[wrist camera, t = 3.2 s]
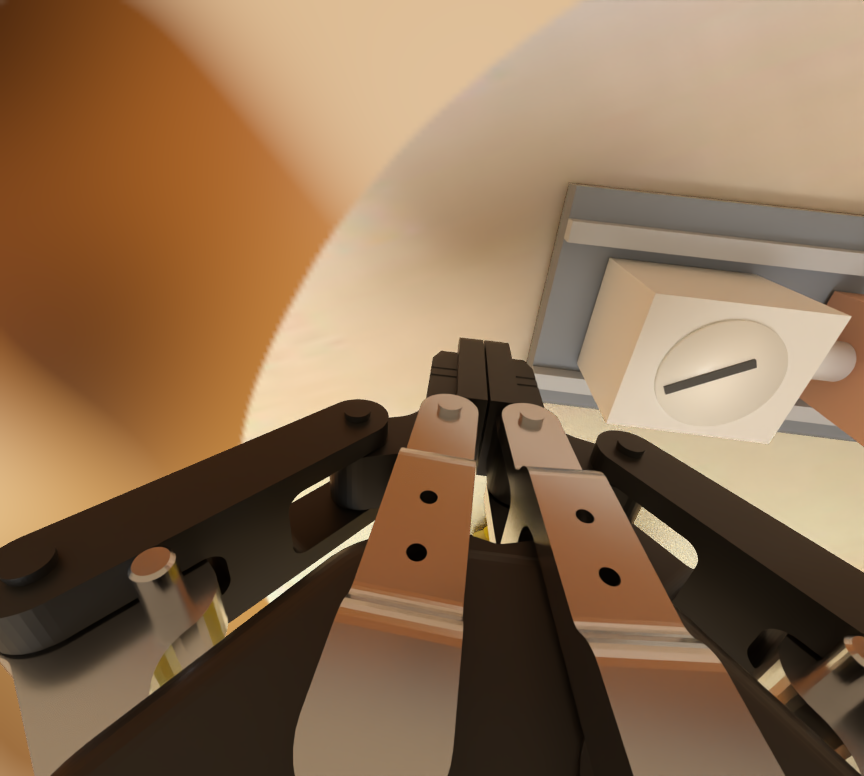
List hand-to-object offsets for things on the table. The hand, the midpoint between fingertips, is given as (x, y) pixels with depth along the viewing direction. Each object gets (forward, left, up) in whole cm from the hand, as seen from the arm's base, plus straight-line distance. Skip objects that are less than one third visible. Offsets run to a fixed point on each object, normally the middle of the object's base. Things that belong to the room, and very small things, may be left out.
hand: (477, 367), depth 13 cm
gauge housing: (-10, 0, -7) cm, 12 cm away
